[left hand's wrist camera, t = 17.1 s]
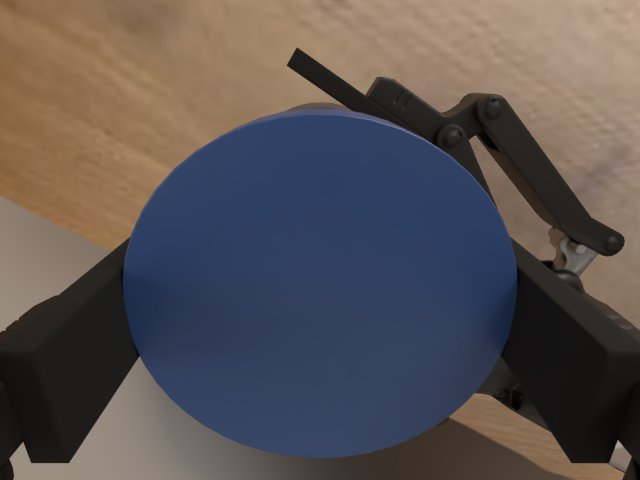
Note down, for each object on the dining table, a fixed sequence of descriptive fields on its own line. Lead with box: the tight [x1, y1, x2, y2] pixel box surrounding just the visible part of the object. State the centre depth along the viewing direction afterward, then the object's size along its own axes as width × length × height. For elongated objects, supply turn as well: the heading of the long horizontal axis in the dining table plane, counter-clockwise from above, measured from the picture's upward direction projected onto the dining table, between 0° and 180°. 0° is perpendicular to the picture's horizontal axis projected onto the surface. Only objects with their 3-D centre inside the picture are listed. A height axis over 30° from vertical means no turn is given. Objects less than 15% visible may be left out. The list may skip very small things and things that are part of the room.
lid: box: [122, 108, 518, 458], centre depth 11 cm, size 10×10×2 cm
